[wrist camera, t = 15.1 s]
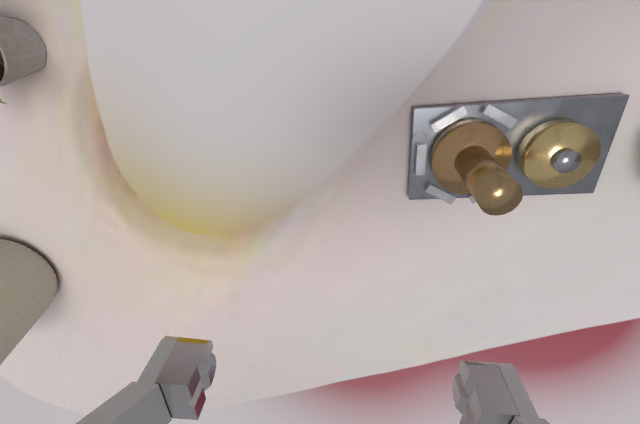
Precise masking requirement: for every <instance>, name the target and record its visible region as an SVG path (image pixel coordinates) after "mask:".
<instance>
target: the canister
mask: <svg viewBox="0 0 640 424" xmlns="http://www.w3.org/2000/svg"><path fill="white" fill-rule="evenodd" d="M57 285H58V284H57V278H56V274H55V273H54V270H53V269H52V268H51V265H49V264H48V263H47V261H46V260H45V259H44V258H43V257H42V256H40V255H39V254H38V253H37V252H35V251H33V250H32V249H30V248H28V247H26V246H25V245H21V244H20V243H16V242H14V241H8V240H6V239H0V365H1V364H2V362H3V361H4V360H5V359H6V358H7V356H8V355H9V354H10V353H11V351H12V350H13V349H14V348H15V347H16V345H17V344H18V343H19V342H20V341H21V339H22V338H23V337H24V336H25V335H26V333H27V332H28V331H29V330H30V329H31V327H32V326H33V325H34V324H35V322H36V321H37V320H38V319H39V317H40V316H41V315H42V313H43V312H44V311H45V310H46V308H47V307H48V306H49V304H50V303H51V301H52V300H53V298H54V296H55V294H56V291H57Z"/></svg>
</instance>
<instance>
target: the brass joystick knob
mask: <svg viewBox="0 0 640 424" xmlns="http://www.w3.org/2000/svg"><path fill="white" fill-rule="evenodd" d="M511 155H512V150H511V144H510V142H509V140H508V138H507V137H506V135H505V134H504V133H503V132H501V131H500V130H499V129H498V128H497V127H495V126H494V125H493V124H491V123H489V122H487V121H484V120H480V119H468V120H463V121H460V122H457V123H455V124H453V125H451V126H449V127H448V128H447V129H445V130H444V131H443V132H442V133H441V134H440V135H439V136H438V137H437V139H436V140H435V142H434V144H433V146H432V148H431V152H430V166H431V169H432V171H433V173H434V175H435V177H436V179H437V181H438V182H439V183H440V185H441V186H443V187H444V188H445V189H447V190H449V191H451V192H454V193H458V194H472V196H473V197H474V199H475V200H476V202H477V203H478V205H479V206H480V208H481V209H482V210H483V211H484V212H485V213H487V214H490V215H503V214H506V213H508V212H510V211H512V210H513V209H515V208H516V207H517V206H518V205H519V203H520V202H521V200H522V197H523V190H522V187H521V186H520V185H519V183H518V182H517V181H516V180H515V179H514V178H513V177H512V176H511V175H510V174H509V173H508V172H507V171H506V170H507V168H508V166H509V164H510V161H511Z"/></svg>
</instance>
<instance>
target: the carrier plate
mask: <svg viewBox="0 0 640 424" xmlns="http://www.w3.org/2000/svg"><path fill="white" fill-rule="evenodd" d="M628 98H629V95H627V94H624V93H609V94H594V95H579V96H563V97H548V98H533V99H518V100H502V101H487V102H472V103H457V104H442V105H426V106H413V108H412V126H411V144H410V162H409V180H408V198H409V200H413V199H442V200H444V201H446V202H448V203H450V204H451V203H452V202H453V201H454V200H455V198H468V197H469V198H470V200H471V202H472V203H474V202H476V200H475V199H474V197H473V196H472V194H458V193H454V192H451V191H449V190H447V189H445V188H444V187H443V186H441V185H440V183H439V182H438V181H437V179H436V177H435V175H434V173H433V171H432V169H431V166H430V152H431V148H432V146H433V144H434V142H435V140H436V139H437V137H438V136H439V135H440V134H441V133H442V132H443V131H444V130H445V129H447V128H448V127H449V126H451V125H453V124H455V123H457V122H460V121H463V120H468V119H480V120H484V121H487V122H489V123H491V124H493V125H494V126H495V127H497V128H498V129H499V130H500V131H501V132H503V133H504V134H505V135H506V137H507V138H508V140H509V142H510V144H511V150H512V155H511V161H510V164H509V166H508V168H507V170H506V171H507V172H508V173H509V174H510V175H511V176H512V177H513V178H514V179H515V180H516V181H517V182H518V183H519V185H520V186H521V187H522V190H523V195H550V194H578V193H593V192H594V190H595V187H596V184H597V182H598V179H599V176H600V173H601V171H602V168H603V165H604V163H605V160H606V157H607V155H608V152H609V149H610V147H611V144H612V141H613V138H614V136H615V133H616V130H617V128H618V125H619V122H620V120H621V117H622V114H623V111H624V109H625V106H626V103H627V101H628Z"/></svg>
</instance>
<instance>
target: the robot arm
mask: <svg viewBox="0 0 640 424" xmlns="http://www.w3.org/2000/svg"><path fill="white" fill-rule="evenodd" d="M212 349H213V345H212V341H211V340H201V339H191V338H181V337H170V336H165V337H164V338H163V339H162V340H161V342H160V343H159V345H158V347H157V348H156V350H155V352H154V354H153V355H152V357H151V359H150V360H149V362H148V364H147V366H146V367H145V369H144V371H143V372H142V374H141V376H140V378H139V379H138V381H137V382H132V383H130V384H129V385H128V386H126V387H125V388H123V389H122V390H121V391H119V392H118V393H117V394H115V395H114V396H113V397H111V398H110V399H109V400H107V401H106V402H105V403H103V404H102V405H100V406H99V407H98V408H96V409H95V410H94V411H92V412H91V413H90V414H88V415H87V416H86V417H84V418H83V419H82V420H80V421H79V422H77V423H76V424H168V423H169V422H170V421H171V418H178V419H195V420H198V418H199V415H200V413H201V410H202V408H203V405H204V403H205V400H206V397H205V393H204V391H205V390H206V389H207V388H208V387H210V386H211V384H212V381H213V378H214V374H215V369H216V358H215V355H214V354H212V353H211V351H212ZM458 368H459V372H460V373H459V374H457V375H456V376H455V377H454V380H453V398H454V402H455V406H456V408H457V409H458V410H459V411H460V412H461V413H462V415H463V416H462V418H461V420H460V424H549V423H548V422H547V421H546V420H545V419H542V418H539V417H538V415H537V413H536V410H535V408H534V406H533V404H532V402H531V400H530V398H529V396H528V394H527V392H526V390H525V388H524V385H523V383H522V381H521V379H520V377H519V375H518V373H517V371H516V368H515V367H514V366H513V365H511V364H499V363H493V362H478V361H461V362H460V364H459V366H458Z"/></svg>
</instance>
